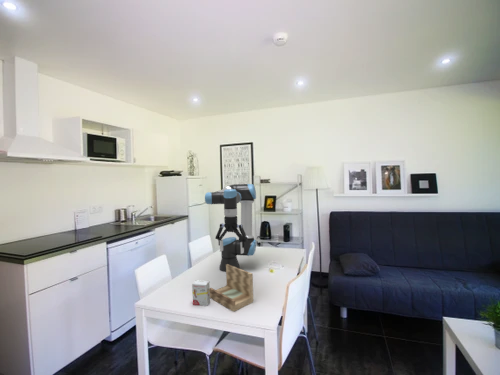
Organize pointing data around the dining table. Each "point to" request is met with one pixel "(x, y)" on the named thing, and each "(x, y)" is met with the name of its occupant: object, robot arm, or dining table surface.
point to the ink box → (201, 292)
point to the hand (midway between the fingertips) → (231, 252)
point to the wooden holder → (235, 289)
